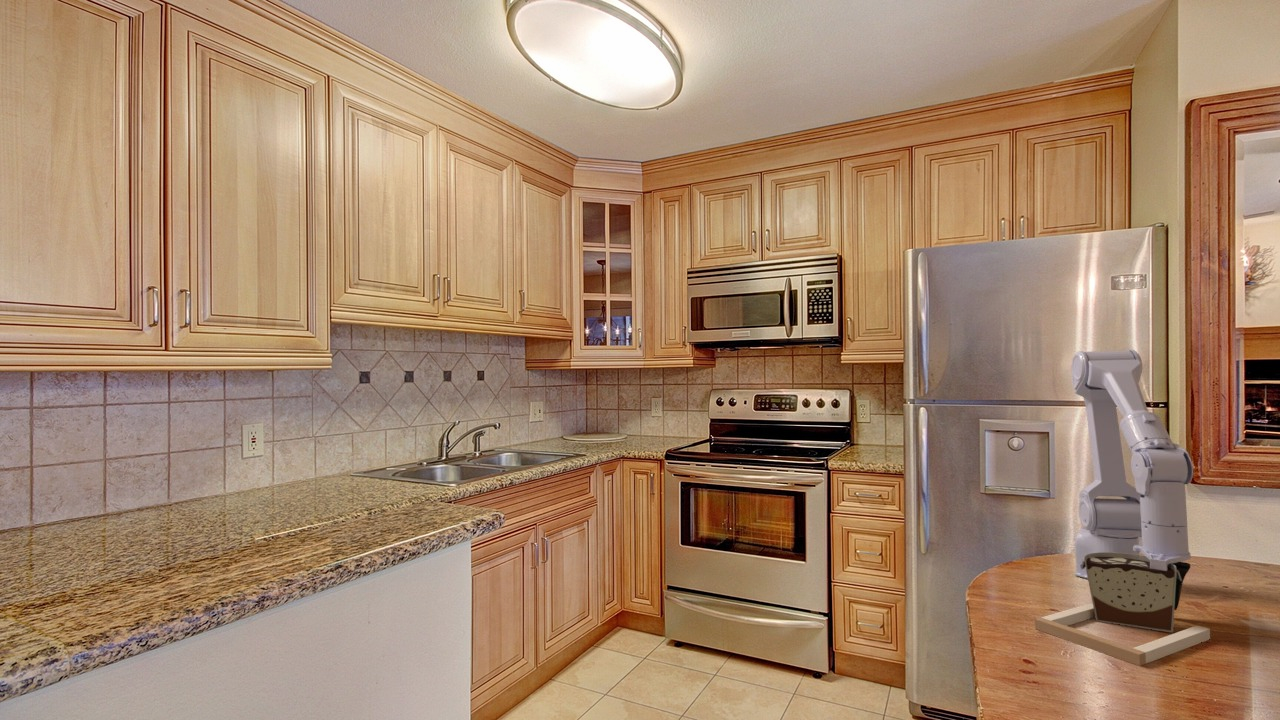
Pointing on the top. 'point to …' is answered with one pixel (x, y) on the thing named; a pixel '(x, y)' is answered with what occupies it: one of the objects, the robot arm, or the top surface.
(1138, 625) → the food container
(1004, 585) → the top surface
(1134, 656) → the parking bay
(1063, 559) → the top surface
